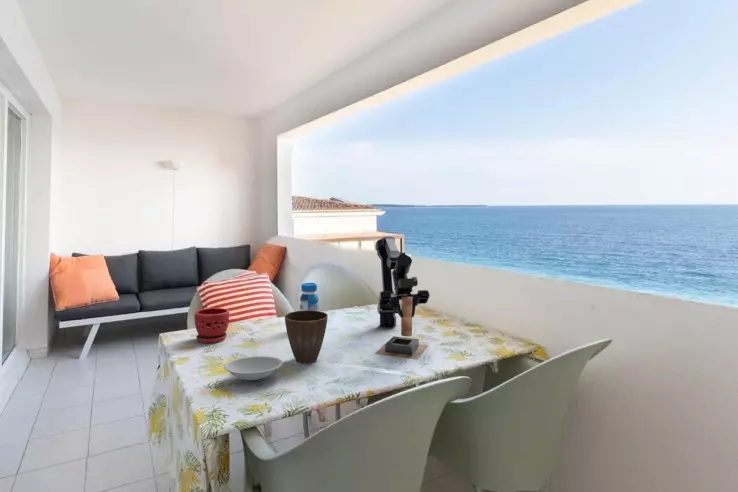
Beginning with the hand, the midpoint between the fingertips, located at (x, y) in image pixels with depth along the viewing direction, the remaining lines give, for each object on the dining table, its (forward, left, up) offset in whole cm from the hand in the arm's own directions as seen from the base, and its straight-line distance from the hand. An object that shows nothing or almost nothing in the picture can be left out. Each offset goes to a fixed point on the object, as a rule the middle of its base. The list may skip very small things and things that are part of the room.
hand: (407, 317), depth 156 cm
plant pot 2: (-31, -20, -14) cm, 39 cm away
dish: (-38, -41, -14) cm, 57 cm away
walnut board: (-2, 0, -13) cm, 14 cm away
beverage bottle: (-49, +15, -14) cm, 53 cm away
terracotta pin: (-1, +1, -7) cm, 7 cm away
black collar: (-2, 0, -12) cm, 13 cm away
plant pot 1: (-78, -13, -14) cm, 80 cm away
